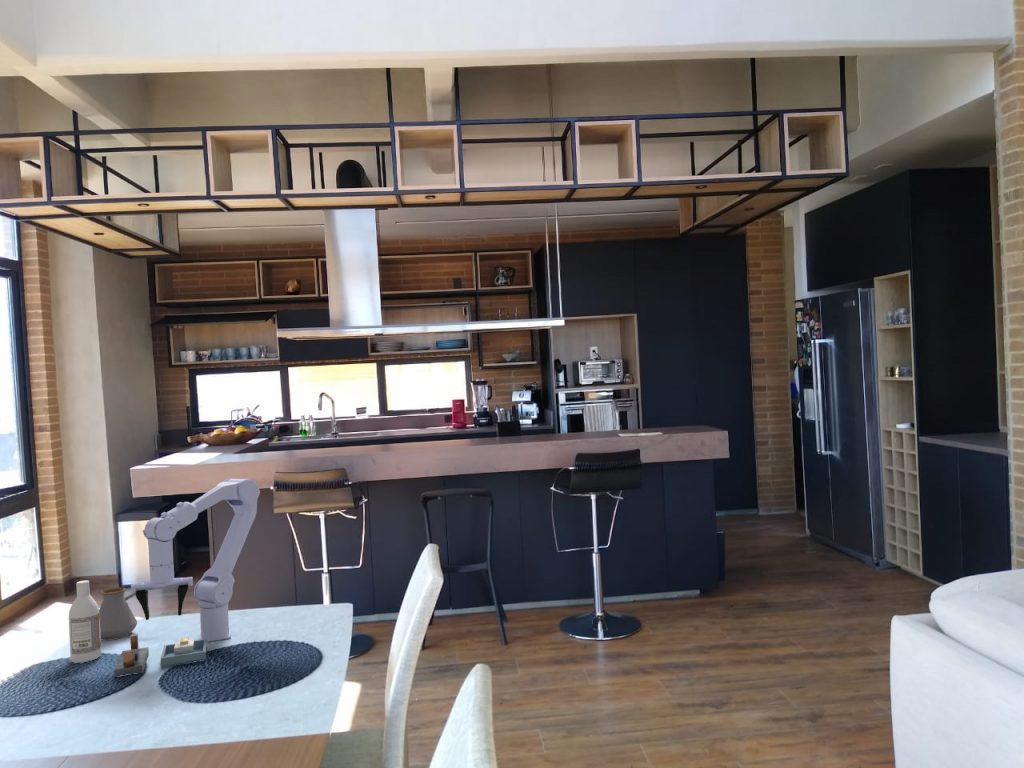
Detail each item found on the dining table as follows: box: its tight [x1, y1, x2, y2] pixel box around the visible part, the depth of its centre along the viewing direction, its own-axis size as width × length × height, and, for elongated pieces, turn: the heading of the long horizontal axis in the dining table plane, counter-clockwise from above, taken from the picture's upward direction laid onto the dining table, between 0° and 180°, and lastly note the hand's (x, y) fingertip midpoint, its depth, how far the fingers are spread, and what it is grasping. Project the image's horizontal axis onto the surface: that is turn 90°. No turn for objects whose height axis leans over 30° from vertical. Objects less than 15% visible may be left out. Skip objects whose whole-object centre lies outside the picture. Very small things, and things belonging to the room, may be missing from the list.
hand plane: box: [113, 633, 150, 677], centre depth 190 cm, size 15×6×6 cm, turn 20°
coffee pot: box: [99, 587, 138, 641], centre depth 220 cm, size 21×12×15 cm, turn 125°
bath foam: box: [68, 579, 102, 663], centre depth 197 cm, size 7×7×20 cm
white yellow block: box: [174, 637, 195, 656], centre depth 194 cm, size 6×4×4 cm
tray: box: [160, 639, 208, 669], centre depth 194 cm, size 11×10×2 cm
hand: (163, 616), depth 199 cm, fingers open, 7 cm apart
